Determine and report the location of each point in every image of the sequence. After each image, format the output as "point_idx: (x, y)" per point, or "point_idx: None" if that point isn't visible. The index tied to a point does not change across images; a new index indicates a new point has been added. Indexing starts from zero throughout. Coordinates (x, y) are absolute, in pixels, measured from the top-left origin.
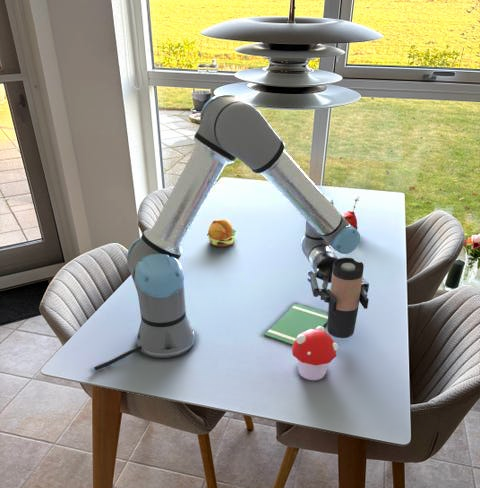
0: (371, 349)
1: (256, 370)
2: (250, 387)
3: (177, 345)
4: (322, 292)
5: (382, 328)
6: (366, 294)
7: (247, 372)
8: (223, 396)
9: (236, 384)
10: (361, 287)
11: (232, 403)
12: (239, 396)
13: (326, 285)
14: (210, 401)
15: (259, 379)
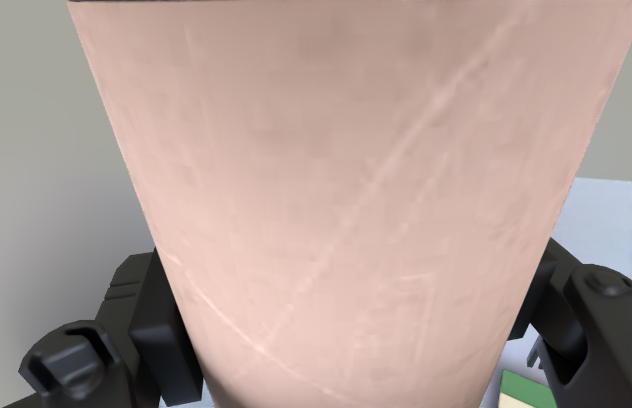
0: (205, 385)
1: (604, 259)
2: (572, 213)
3: None
4: (579, 261)
5: None
6: (136, 258)
7: (624, 251)
8: (612, 192)
9: (615, 218)
10: (105, 351)
11: (577, 182)
12: (577, 194)
13: (621, 356)
14: (628, 183)
15: (569, 233)
